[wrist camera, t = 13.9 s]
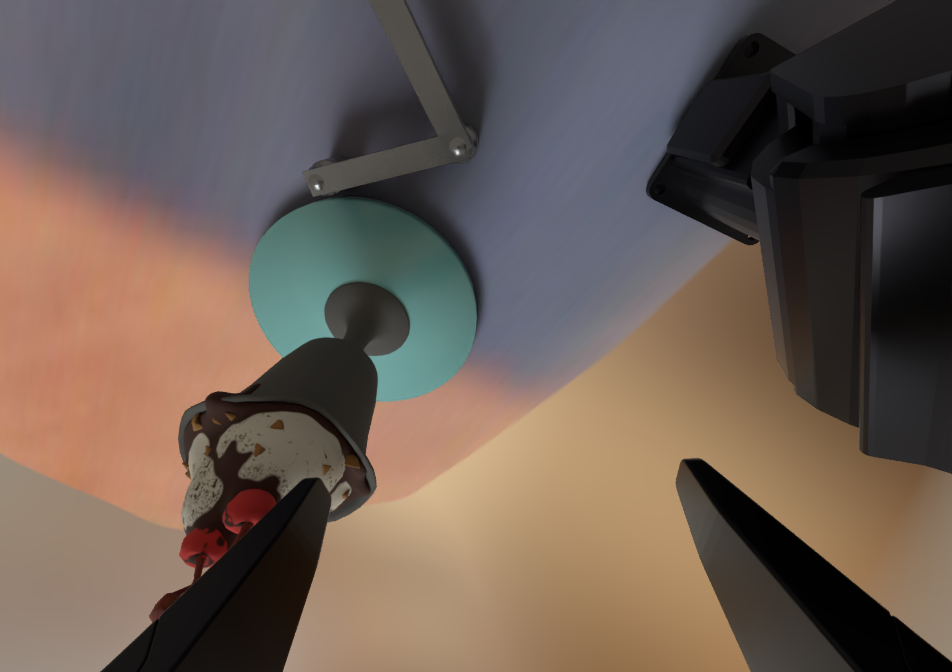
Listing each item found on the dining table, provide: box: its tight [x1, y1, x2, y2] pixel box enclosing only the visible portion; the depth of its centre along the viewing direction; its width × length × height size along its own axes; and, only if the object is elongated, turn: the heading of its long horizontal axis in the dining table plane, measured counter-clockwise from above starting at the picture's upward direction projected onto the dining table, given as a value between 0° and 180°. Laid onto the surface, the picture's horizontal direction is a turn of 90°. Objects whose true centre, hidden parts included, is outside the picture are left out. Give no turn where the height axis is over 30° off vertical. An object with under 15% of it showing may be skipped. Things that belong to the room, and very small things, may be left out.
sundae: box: [149, 282, 410, 622], centre depth 14 cm, size 7×7×15 cm
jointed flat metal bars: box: [302, 0, 479, 197], centre depth 14 cm, size 7×10×3 cm
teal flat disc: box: [249, 196, 477, 401], centre depth 21 cm, size 13×13×1 cm
